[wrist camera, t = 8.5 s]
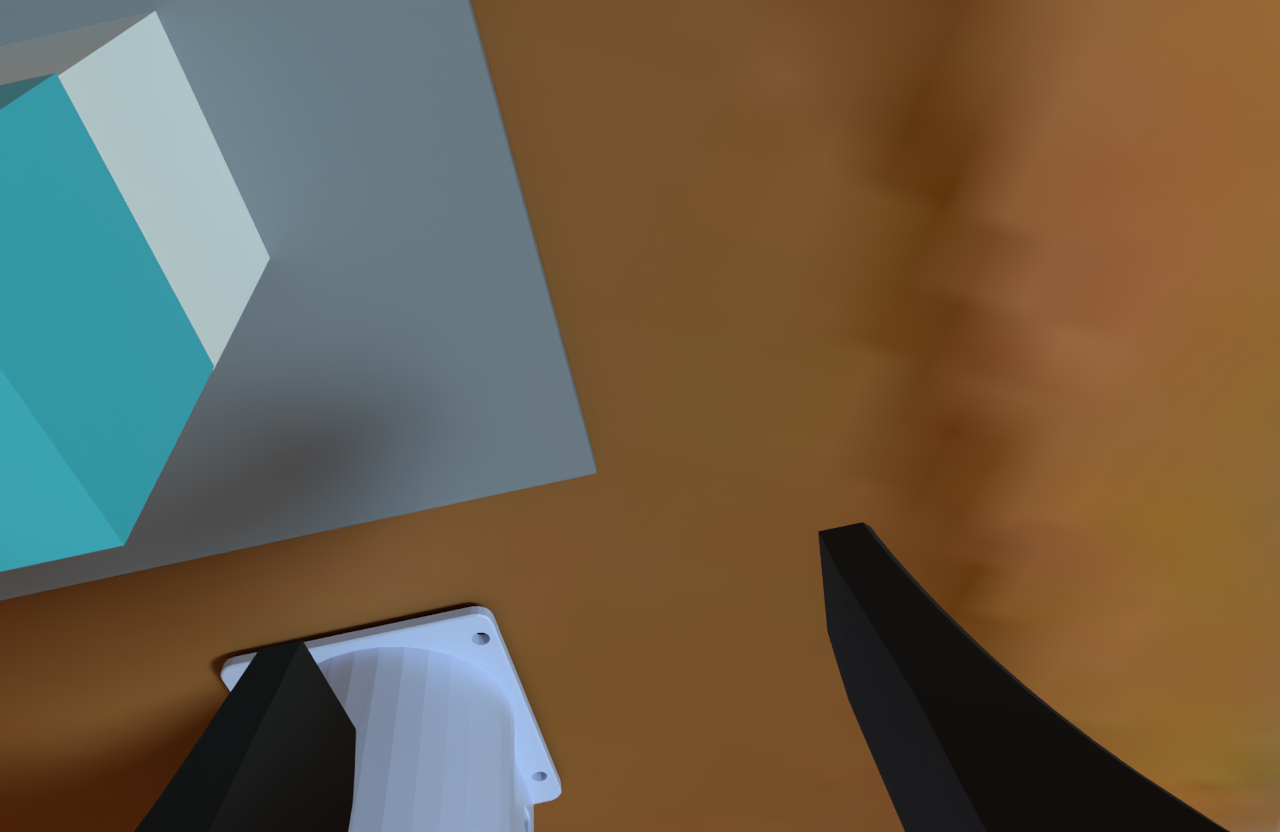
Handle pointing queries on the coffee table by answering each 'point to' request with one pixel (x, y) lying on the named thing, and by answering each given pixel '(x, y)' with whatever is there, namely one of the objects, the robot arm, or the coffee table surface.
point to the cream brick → (157, 161)
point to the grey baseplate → (349, 282)
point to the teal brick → (79, 340)
